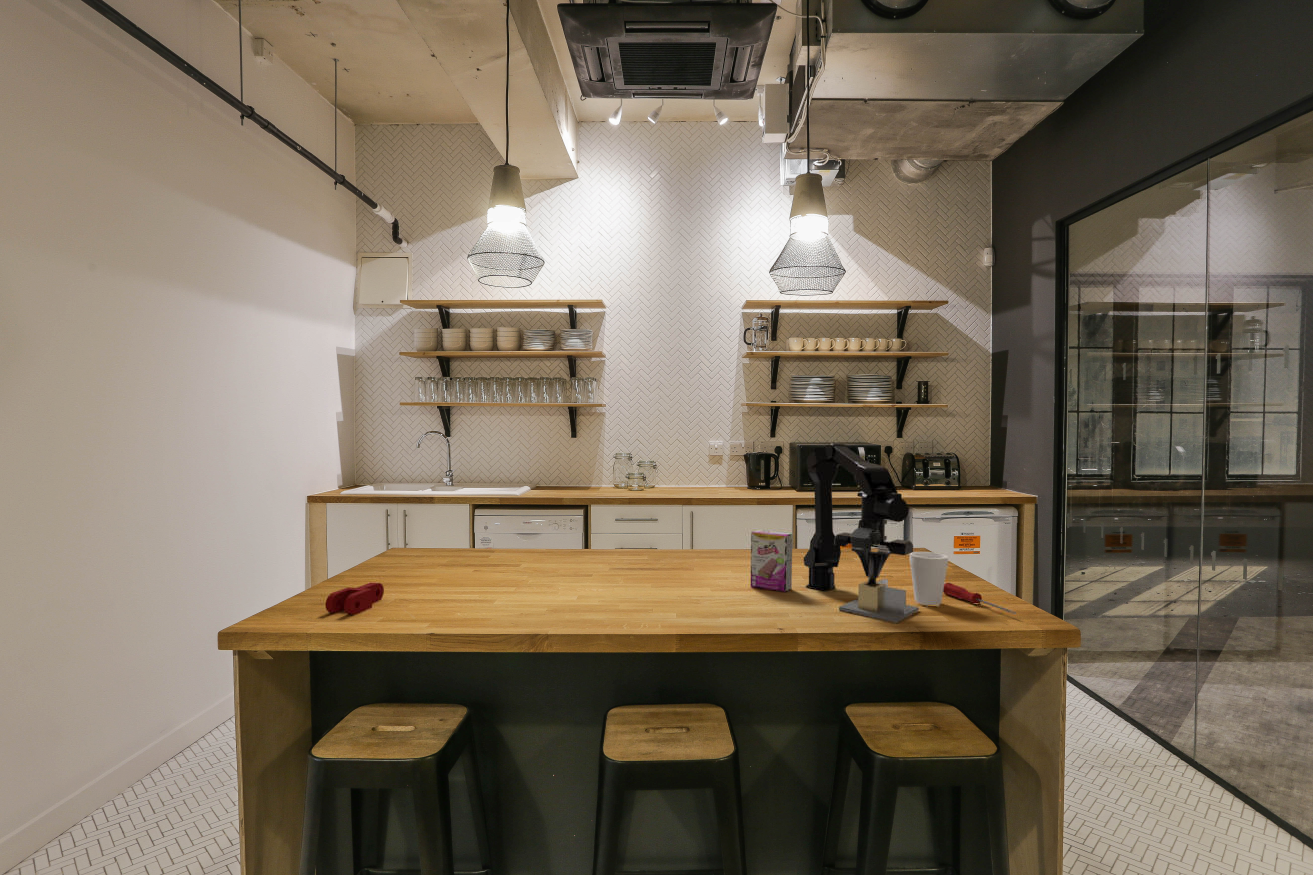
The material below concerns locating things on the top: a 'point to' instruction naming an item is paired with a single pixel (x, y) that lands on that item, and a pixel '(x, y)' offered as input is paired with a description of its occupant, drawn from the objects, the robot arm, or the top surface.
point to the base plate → (880, 614)
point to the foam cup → (928, 576)
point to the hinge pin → (871, 568)
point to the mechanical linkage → (354, 598)
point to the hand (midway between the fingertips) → (872, 576)
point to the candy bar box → (771, 560)
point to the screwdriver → (967, 595)
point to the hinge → (881, 597)
